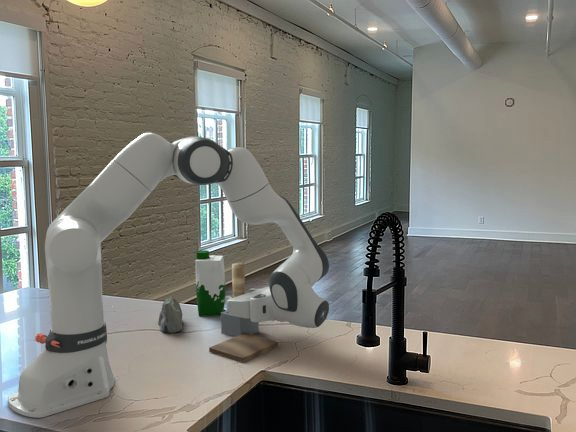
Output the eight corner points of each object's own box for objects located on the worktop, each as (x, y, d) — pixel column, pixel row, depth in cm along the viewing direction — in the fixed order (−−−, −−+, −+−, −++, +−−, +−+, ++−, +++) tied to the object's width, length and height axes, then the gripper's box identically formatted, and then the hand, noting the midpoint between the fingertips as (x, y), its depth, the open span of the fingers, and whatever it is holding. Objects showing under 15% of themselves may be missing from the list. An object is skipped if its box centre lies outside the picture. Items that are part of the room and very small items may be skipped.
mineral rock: (172, 317, 179) (171, 286, 178) (201, 322, 175) (200, 290, 173) (146, 330, 168) (144, 297, 166) (176, 335, 163) (174, 301, 162)
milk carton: (200, 308, 188) (197, 248, 185) (227, 308, 188) (225, 248, 185) (195, 317, 179) (192, 254, 176) (223, 316, 179) (221, 254, 176)
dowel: (240, 335, 162) (238, 266, 160) (231, 332, 165) (229, 264, 162) (248, 331, 165) (247, 263, 162) (239, 329, 167) (237, 262, 165)
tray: (242, 362, 143) (242, 357, 143) (209, 351, 150) (209, 347, 150) (278, 346, 154) (278, 341, 153) (245, 336, 161) (245, 332, 161)
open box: (240, 338, 160) (240, 317, 159) (221, 333, 164) (220, 312, 164) (258, 331, 166) (258, 310, 165) (239, 325, 170) (239, 306, 169)
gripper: (298, 284, 163) (261, 277, 171) (250, 300, 147) (212, 292, 155) (298, 305, 163) (262, 297, 172) (250, 324, 148) (213, 314, 156)
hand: (238, 295), depth 164 cm, fingers open, 8 cm apart
